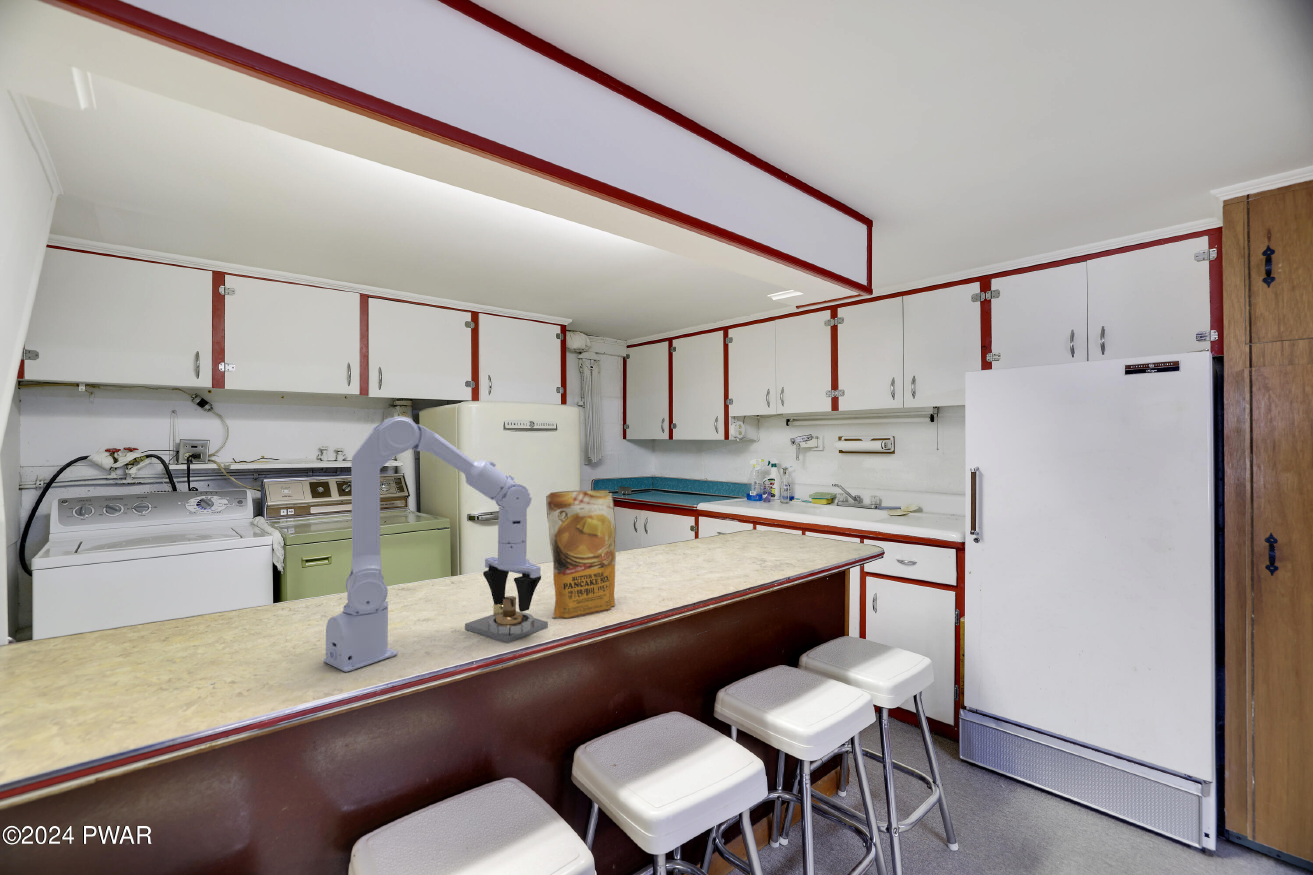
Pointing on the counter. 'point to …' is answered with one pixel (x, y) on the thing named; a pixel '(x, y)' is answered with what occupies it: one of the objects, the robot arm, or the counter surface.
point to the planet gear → (509, 612)
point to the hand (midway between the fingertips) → (511, 606)
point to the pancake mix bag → (582, 551)
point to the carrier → (505, 626)
